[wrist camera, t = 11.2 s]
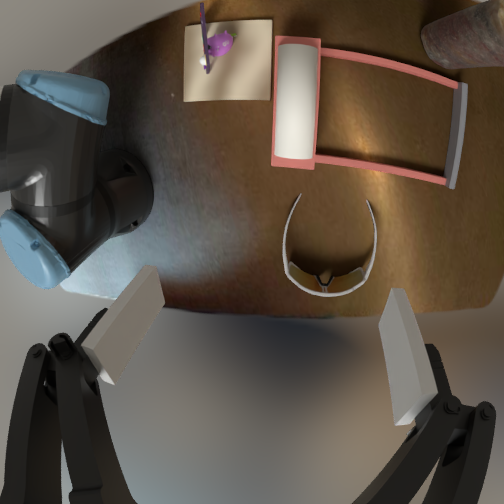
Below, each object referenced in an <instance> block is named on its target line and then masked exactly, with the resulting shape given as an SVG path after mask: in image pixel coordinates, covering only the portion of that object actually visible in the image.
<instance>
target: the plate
mask: <svg viewBox="0 0 504 504" xmlns="http://www.w3.org/2000/svg"><path fill="white" fill-rule="evenodd" d="M272 29H273V21H272V20H242V21H227V22H216V23H207V24H206V32H207V38H210V37H212V36H214V35H215V33H216V35H217V34H221V33H224V32H225V30H226V31H227V33H228V34H234V33H236V36H235V37H234V36H233V45H232V47H231V49H230V50H229V51H228V52H227V53H226V54H224V55H222V56H215V57H213V56H211V55H209V60H210V71H209V74H206V69H205V70H204V65H203V67H202V64H201V63H200V61H199V60H200V58H201V57H202V56H204V51H203V40H202V29H201V24H199V25H192V26H186V27H185V46H184V102H190V101H207V100H271V73H272Z"/></svg>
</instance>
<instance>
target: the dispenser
mask: <svg viewBox="0 0 504 504" xmlns="http://www.w3.org/2000/svg"><path fill="white" fill-rule="evenodd" d="M320 56H325V57H333V58H340V59H347V60H353V61H358V62H364V63H369V64H373V65H378V66H382V67H387V68H391V69H395V70H399V71H402V72H406V73H409V74H413V75H416V76H419V77H423V78H426V79H429V80H432V81H435V82H437V83H440V84H443V85H446V86H448V87H451V88H453V89H454V95H453V110H452V121H451V131H450V139H449V146H448V152H447V158H446V164H445V170H444V175H443V177H442V176H438V175H434V174H430V173H426V172H422V171H418V170H413V169H409V168H404V167H399V166H394V165H389V164H383V163H378V162H372V161H366V160H360V159H354V158H347V157H340V156H332V155H324V154H315V152H316V139H317V124H318V108H319V87H320ZM467 88H468V85H467V84H465V83H463V82H456V81H453V80H451V79H448V78H446V77H443V76H440V75H438V74H435V73H432V72H429V71H426V70H423V69H420V68H417V67H414V66H410V65H407V64H403V63H400V62H396V61H392V60H388V59H384V58H380V57H375V56H371V55H366V54H360V53H355V52H349V51H343V50H336V49H329V48H321V39H318V38H308V37H293V36H275V76H274V108H273V136H272V161H271V166H278V167H290V168H301V169H310V170H314V163H315V162H318V163H326V164H334V165H342V166H349V167H356V168H362V169H369V170H375V171H380V172H386V173H391V174H397V175H402V176H407V177H412V178H416V179H421V180H425V181H430V182H434V183H438V184H442V185H446V186H447V187H448V188H451V189H454V188H455V183H456V178H457V173H458V168H459V163H460V157H461V151H462V144H463V137H464V129H465V119H466V107H467Z"/></svg>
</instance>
